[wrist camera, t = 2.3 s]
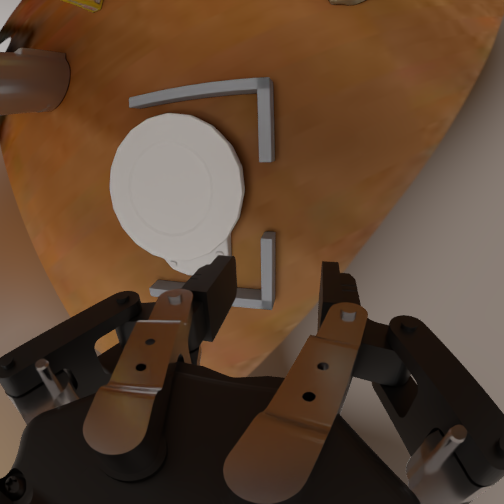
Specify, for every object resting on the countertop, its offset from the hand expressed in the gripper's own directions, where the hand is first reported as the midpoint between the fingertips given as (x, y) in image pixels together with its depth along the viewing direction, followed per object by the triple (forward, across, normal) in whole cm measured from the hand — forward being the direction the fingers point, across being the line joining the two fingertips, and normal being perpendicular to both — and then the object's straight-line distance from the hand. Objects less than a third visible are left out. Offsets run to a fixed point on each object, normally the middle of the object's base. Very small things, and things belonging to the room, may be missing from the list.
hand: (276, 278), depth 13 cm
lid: (+20, +14, 0) cm, 24 cm away
